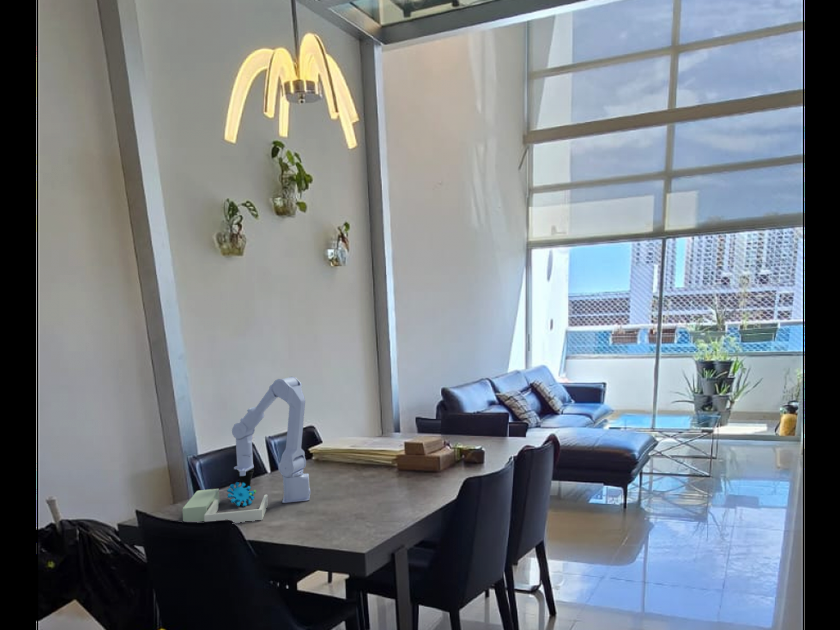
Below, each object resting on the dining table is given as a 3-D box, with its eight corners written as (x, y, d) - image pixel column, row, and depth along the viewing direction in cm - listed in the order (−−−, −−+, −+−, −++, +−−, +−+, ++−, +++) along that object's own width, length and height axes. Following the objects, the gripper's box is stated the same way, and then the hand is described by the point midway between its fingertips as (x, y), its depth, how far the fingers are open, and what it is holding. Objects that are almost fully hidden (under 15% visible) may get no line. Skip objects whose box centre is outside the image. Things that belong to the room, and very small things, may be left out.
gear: (232, 506, 205) (225, 482, 210) (226, 516, 207) (218, 492, 213) (261, 502, 212) (253, 479, 218) (255, 512, 215) (246, 489, 221)
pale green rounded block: (220, 502, 216) (219, 488, 216) (208, 521, 194) (207, 506, 194) (198, 504, 215) (197, 490, 215) (183, 523, 193) (182, 508, 193)
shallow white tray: (268, 504, 210) (267, 494, 210) (262, 520, 192) (261, 509, 192) (215, 509, 207) (214, 499, 207) (204, 526, 189) (204, 515, 189)
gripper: (236, 451, 228) (238, 486, 227) (230, 459, 213) (232, 497, 213) (255, 449, 229) (257, 484, 228) (250, 457, 214) (252, 495, 214)
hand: (246, 490), depth 221 cm, fingers closed
